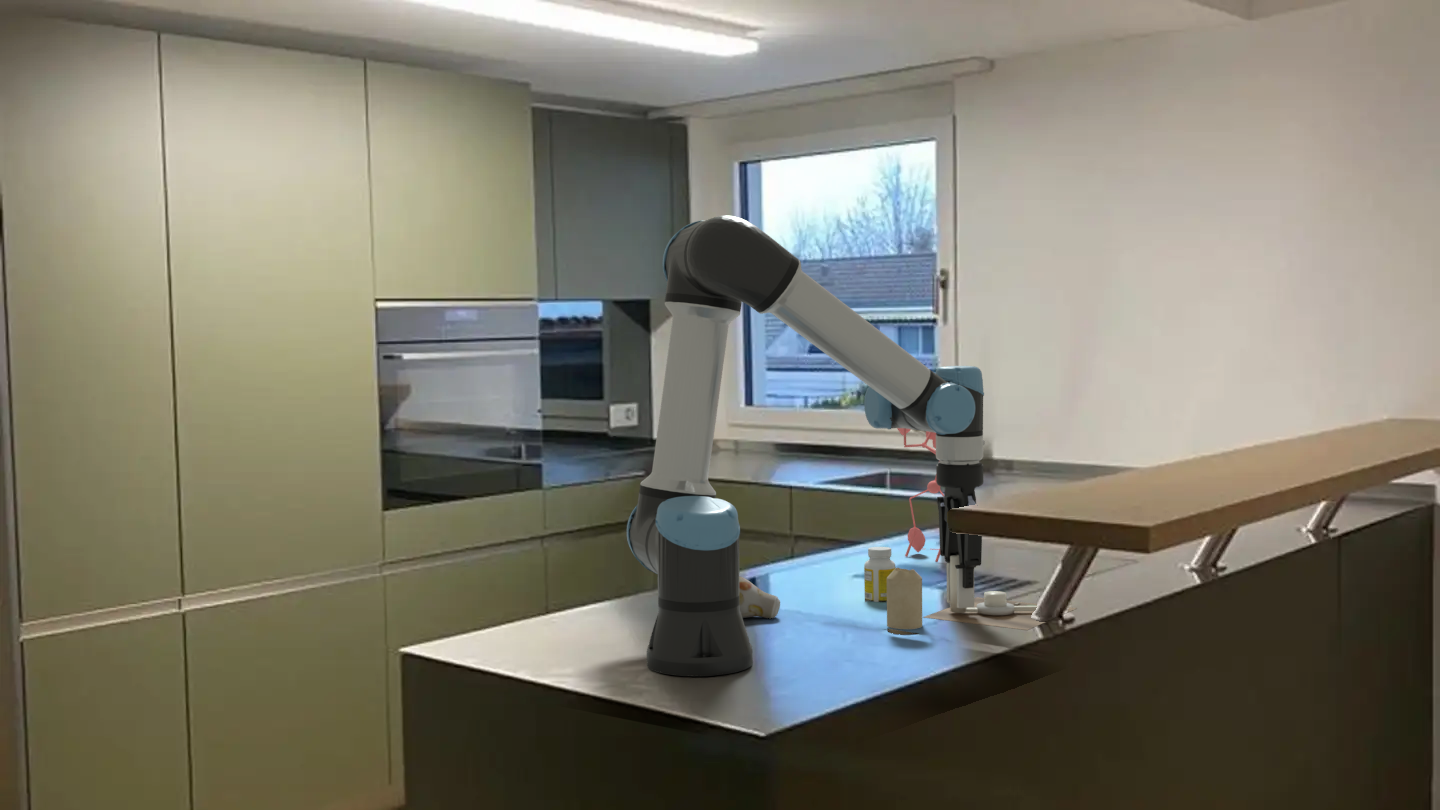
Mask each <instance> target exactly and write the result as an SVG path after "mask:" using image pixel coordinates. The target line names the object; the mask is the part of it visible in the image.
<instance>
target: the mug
mask: <svg viewBox="0 0 1440 810" xmlns="http://www.w3.org/2000/svg"><path fill="white" fill-rule="evenodd" d="M739 592H740V595H739V599H740V613H741V616H742V619H748V618H755V617H758V618H764V619H768V618H769V619H770V620H772V619H774V618H776V617H777V616H778V614H779V611H780V608H781V600H780V599H779V597H778V596H777V595H773V594H772V593H771V594H770V593H768V592H765V591H763V590H762V589H760V588H759V587H758V586H756V585H755V584H753V583H752V582H751V581H750V580H748V579H746V578H745V577H743V576H740V575H739ZM771 618H772V619H771Z"/></svg>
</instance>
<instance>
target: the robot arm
mask: <svg viewBox="0 0 1440 810" xmlns="http://www.w3.org/2000/svg"><path fill="white" fill-rule="evenodd" d="M662 272H663V275H664V279H665V280H666V289H665V290H666V291H665V299H664V306H665V307H666V309H667V310H668V312H669V313H670V314H671V316H672V321H671V326H670V327H671V328H670V336H669V343H668V349H667V350H668V351H667V359H666V365H665V373H664V379H663V380H664V381H663V387H662V393H661V403H660V410H659V417H658V425H657V432H656V440H655V446H654V454H653V462H652V469H651V473H650V474H649V475H648V476H647V477H645V478H644V479H643V480H642V481H641V482H640V484H639V492H638V498H637V504H636V506H635V507H634V509H632V511H631V513H630V516H628V517H629V518H628V520H627V524H626V539H627V544H628V546H629V549H630V550H631V551H630V552H632V554H633V556H634V558H635V559H636V560H637V561H638V562H639V563H640V565H641V566H642V567H644V568H645V569H646V570H648V572H649V571H650V572H652V573H654V574H656V575H657V600H658V601H657V603H658V605H657V606H658V608H657V615H656V617H655V622H654V625H653V628H652V632H651V634H650V635H651V636H650V639H649V644H648V646H647V648H646V666H647V668H649V670H652V671H653V672H657V673H660V674H664V675H669V676H670V675H672V676H679V677H681V676H682V677H713V676H722V675H728V674H730V675H731V674H734V673H738V672H742V671H745V670H747V669H749V668H750V667H752V665H753V663H754V661H753V659H754V658H753V657H754V656H753V655H754V654H753V653H754V652H753V646H752V644H751V642H750V639H749V635H748V632H747V629H746V625H745V622H744V618H742V616H741V613H740V599H739V595H740V592H739V576H740V536H741V527H740V523H739V514H738V510H737V509H736V506H735V505H733V504H732V503H731V502H728V501H726V500H725V499H721V498H718V497H717V492H716V490H715V489H714V488H713V486H712V485H711V484H710V481H709V475H710V474H709V473H710V466H711V460H712V453H713V452H712V451H713V445H714V444H713V443H714V438H715V437H714V436H715V429H716V422H717V416H718V415H717V414H718V406H719V400H720V391H721V384H722V378H723V377H722V376H723V370H724V364H725V363H724V361H725V355H726V347H727V340H728V339H727V338H728V333H729V325H730V324H731V323H732V321H734V320H735V319H736V318H738V317H739V316H740V315H741V311H742V303H744V304H746V305H747V306H749V307H750V308H751V309H753V310H755V311H756V312H757V313H758V314H760V315H763V314H768V313H769V314H772V315H773V316H775V317H776V318H777V319H778V320H780V321H781V322H783V323H784V324H785V325H786V326H788V328H790V329H792V330H793V331H794V332H796V333H797V334H798V335H800V336H801V337H802V338H803V339H806V340H807V341H808V342H809V343H811V344H812V345H813V346H815V348H817V349H819V350H820V351H821V352H822V353H824V354H825V355H826V356H828V357H829V358H831V360H833V361H835V363H837V364H839V365H840V366H841V367H842V368H843V369H845V370H846V371H848V372H849V373H851V375H853V376H855V377H857V379H859V380H860V381H861V382H863V383H864V384H866V385H867V386H868V387H867V388H866V392H865V395H864V400H863V401H864V402H863V403H864V406H863V407H864V413H865V414H864V415H865V418H866V420H867V423H869V425H870V426H871V427H872V428H874V429H881V430H882V429H884V430H885V429H887V430H892V429H897V428H906V429H911V430H916V431H923V432H926V431H928V432H934V433H936V449H935V450H936V455H935V458H936V460H938V462H937V464H936V467H935V469H936V472H935V473H936V474H935V477H936V482H937V484H938V485H939V486H940V487H942V488H945V489H944V493H943V494H944V496H942V495H941V496H937V497H936V502H937V503H936V505H937V510H938V528H939V529H938V531H939V535H938V536H939V549H940V556H941V557H944V558H943V559H944V562H945V563H946V603H948V604H950V556H952V555H959V565H955V567H956V569H957V608H968V607H974V598H975V568H976V567H978V566H981V565H982V555H983V554H982V553H983V552H982V549H983V547H982V546H983V535H982V536H978V535H969V534H956V533H952V532H950V531H949V528H948V523H947V512H948V511H949V510H950V509H952V508H959V507H964V506H969V505H975V504H977V496H976V492H975V489H976V488H977V487H981V486H982V485H983V484H984V464H983V463H982V462H980V461H981V460H982V459H983V458H984V446H985V445H986V442H985V441H986V440H984V396H985V392H984V379H983V373H982V370H981V369H980V368H979V367H977V366H974V365H973V366H972V365H948V366H947V365H946V366H945V365H944V366H938V367H937V368H936V369H935V372H934V371H933V370H931V369H930V368H928V367H927V366H926V365H925V364H923V363H922V362H921V361H920V360H919V359H917V358H916V357H914V356H913V355H912V354H911V353H909V352H908V351H907V350H906V349H904V348H902V347H901V346H900V345H899V344H897V343H896V342H895V341H894V340H892V339H891V338H890V337H888V336H887V335H886V334H885V333H883V332H882V331H881V330H879V329H878V328H877V327H876V326H874V325H873V324H871V322H869V321H868V320H866V319H865V318H864V317H862V316H861V315H860V314H859V313H857V312H856V311H854V309H852V308H851V307H849V305H847V304H846V303H844V302H843V301H842V300H840V299H839V298H838V297H836V295H834V294H833V293H831V292H830V291H829V290H827V289H826V288H825V287H824V286H822V285H821V284H820V283H819V282H817V281H816V280H814V279H813V278H812V277H811V276H810V275H808V274H807V273H805V272H804V271H803V269H802V263H801V260H800V259H799V258H798V257H797V256H795V255H794V254H792V253H791V252H790V251H789V250H788V249H786V248H785V247H783V246H782V244H780V243H778V242H777V241H776V239H773V238H772V237H771V236H770V235H768V234H767V233H766V232H764V231H763V230H762V229H760V227H758V226H757V225H755V224H753V223H751V222H749V221H748V220H747V219H743V218H741V217H737V216H734V215H718V216H715V217H711V218H708V219H706V220H697V221H694V222H691V223H689V224H687V225H684V226H683V227H682V228H680V229H679V230H678V231H677V232H676V233H675V234H674V235H673V236H672V237H671V238H670V239H669V241H668V242H667V244H666V246H665V249H664V252H663V255H662ZM939 460H940V462H939Z"/></svg>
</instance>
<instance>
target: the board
mask: <svg viewBox="0 0 1440 810" xmlns="http://www.w3.org/2000/svg"><path fill="white" fill-rule="evenodd" d="M983 602H984V597H979V596H977V597H974V607H977V604H979V603H983ZM1007 603H1010V604H1013V605H1014V606H1037V604H1038V603H1033V602H1023V601H1022V602H1021V601H1015V600H1007ZM974 607H968V608H974ZM1068 607H1069V606H1068ZM1077 609H1078V608H1077V607H1069V609H1068V613H1070V612H1073V611H1074V610H1077ZM1033 612H1034V611H1014V613H1013V614H1009V615H986V614H981V613H978V612H964V613H954V612H951V611H950V607H947V608H944V609H940V610H939V611H936V612H933V613H931V614H928V615H926V616H922V619H923V618H924V619H931V620H932V619H933V620H940V621H951V622H955V623H965V624H966V623H967V624H974V625H981V626H982V625H983V626H991V627H998V628H1005V629H1006V628H1008V629H1014V630H1020V631H1021V630H1023V631H1029V630H1031V629H1034V628H1036V627H1038V626H1041V625H1042V624H1045V623H1046V622H1039V621H1036V620H1034V619H1032V618H1031V615H1032V613H1033Z"/></svg>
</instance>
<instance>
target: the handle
mask: <svg viewBox="0 0 1440 810" xmlns="http://www.w3.org/2000/svg"><path fill="white" fill-rule="evenodd" d="M955 565H959V555H952V556H950V603H949V606H950V611H951V612H954V613H964V612H978V613H981V614H986V615H1009V614H1013V613H1014V611H1035V610H1036V608H1037V607H1038V606H1014V605H1013V604H1010V603H1007V601H1008V600H1007V592H1004V591H999V590H998V591H997V590H996V591H994V590H993V591H992V590H991V591H985V592H984V593H983V598H984V602H983V603H979V604H977V607H974V608H957V569H956V567H955Z"/></svg>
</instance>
